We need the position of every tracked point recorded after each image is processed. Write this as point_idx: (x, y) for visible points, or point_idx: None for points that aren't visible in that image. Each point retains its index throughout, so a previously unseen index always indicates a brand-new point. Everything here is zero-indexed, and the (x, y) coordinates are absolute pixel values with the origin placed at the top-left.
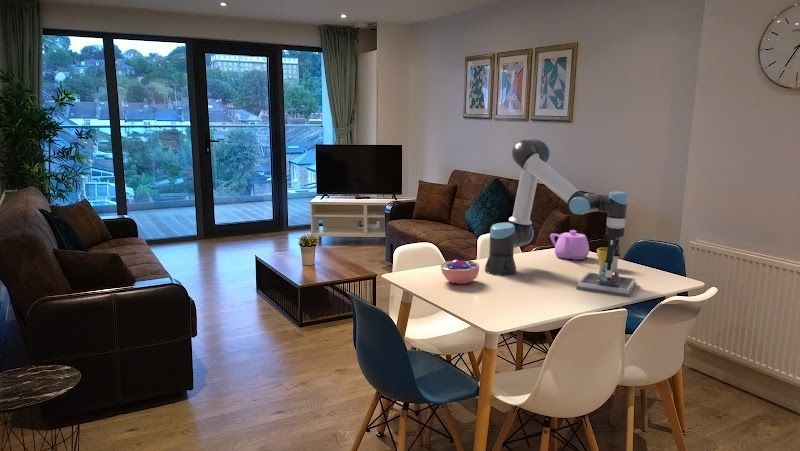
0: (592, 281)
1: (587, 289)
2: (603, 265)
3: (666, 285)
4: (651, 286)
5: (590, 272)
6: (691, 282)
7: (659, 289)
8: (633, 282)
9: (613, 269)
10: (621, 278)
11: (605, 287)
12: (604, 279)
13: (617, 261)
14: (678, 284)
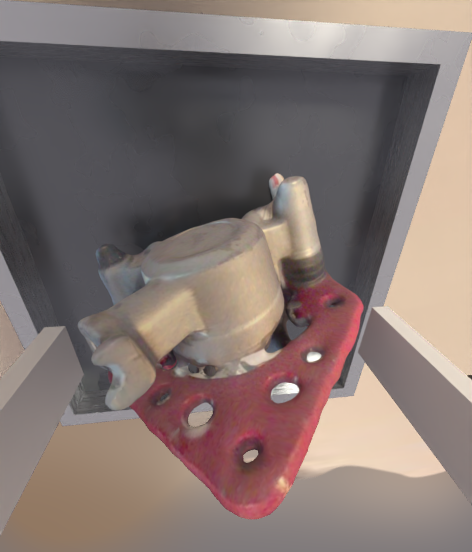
0: (235, 144)
1: None
2: (112, 367)
3: (373, 440)
4: (336, 412)
5: (457, 69)
6: (437, 471)
7: None
8: None
9: (370, 336)
10: None
11: (12, 305)
12: (109, 293)
13: (429, 446)
14: (400, 457)
